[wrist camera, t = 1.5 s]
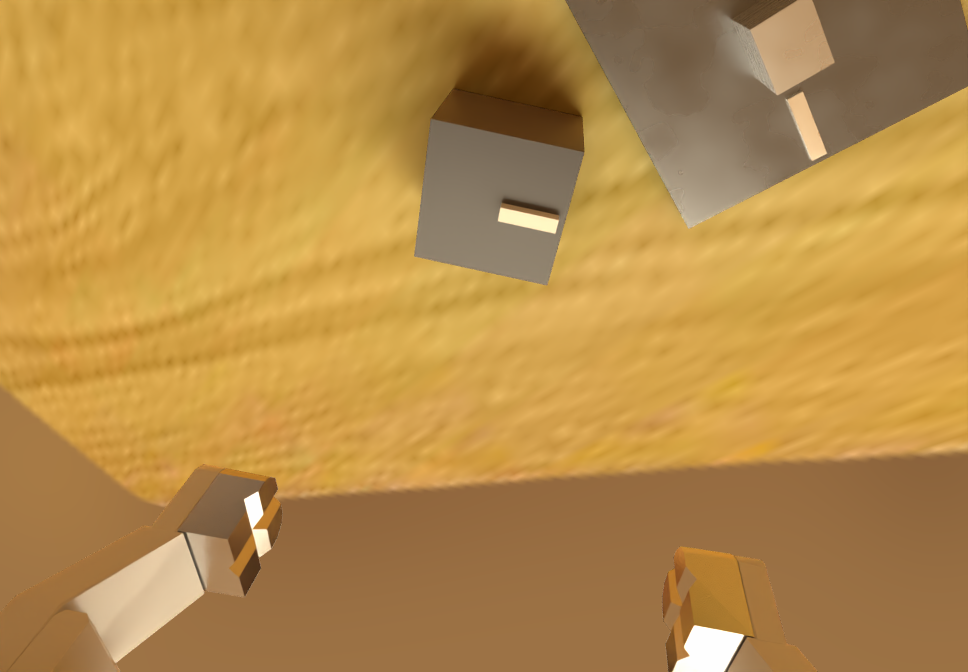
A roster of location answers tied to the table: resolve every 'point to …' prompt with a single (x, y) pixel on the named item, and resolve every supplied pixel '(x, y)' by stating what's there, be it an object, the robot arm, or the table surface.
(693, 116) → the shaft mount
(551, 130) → the grey drawer unit
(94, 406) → the table surface
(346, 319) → the table surface
